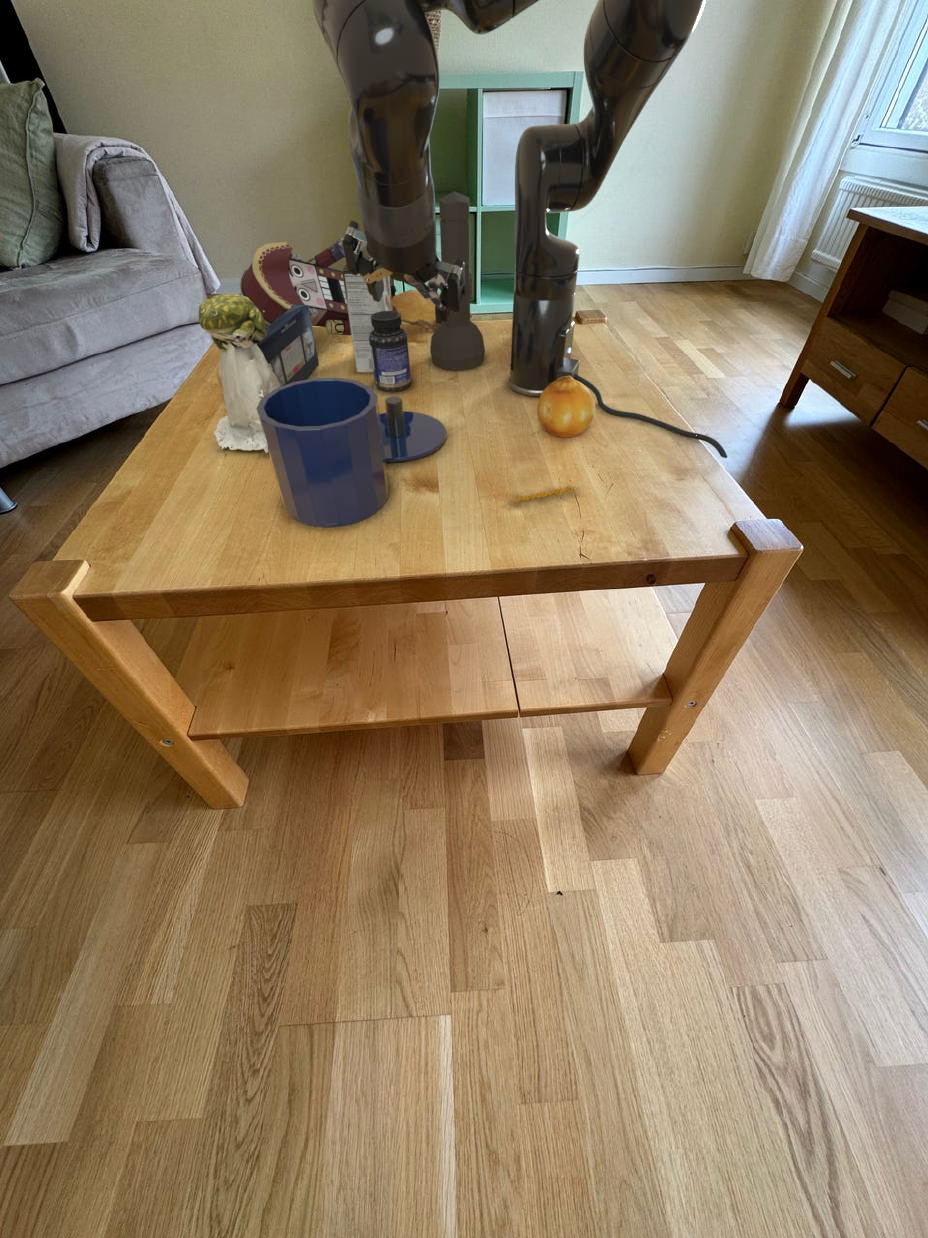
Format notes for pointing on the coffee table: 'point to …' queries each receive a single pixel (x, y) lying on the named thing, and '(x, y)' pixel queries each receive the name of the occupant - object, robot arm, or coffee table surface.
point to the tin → (326, 450)
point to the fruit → (565, 407)
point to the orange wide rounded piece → (416, 309)
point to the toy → (299, 285)
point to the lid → (408, 432)
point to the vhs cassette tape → (291, 346)
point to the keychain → (544, 494)
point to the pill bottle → (389, 352)
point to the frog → (239, 368)
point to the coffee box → (363, 314)
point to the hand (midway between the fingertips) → (410, 306)
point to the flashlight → (458, 336)
